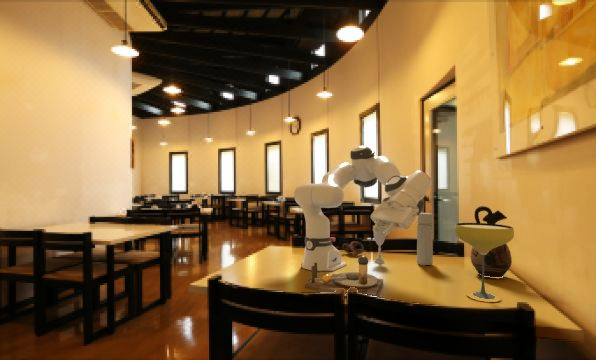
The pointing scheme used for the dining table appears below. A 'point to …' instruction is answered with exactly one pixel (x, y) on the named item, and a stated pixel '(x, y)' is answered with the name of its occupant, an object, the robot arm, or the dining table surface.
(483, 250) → the cocktail glass
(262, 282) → the dining table surface
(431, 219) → the water bottle
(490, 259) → the ceramic jug
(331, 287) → the stand
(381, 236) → the chalice
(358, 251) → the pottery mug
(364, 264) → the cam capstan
